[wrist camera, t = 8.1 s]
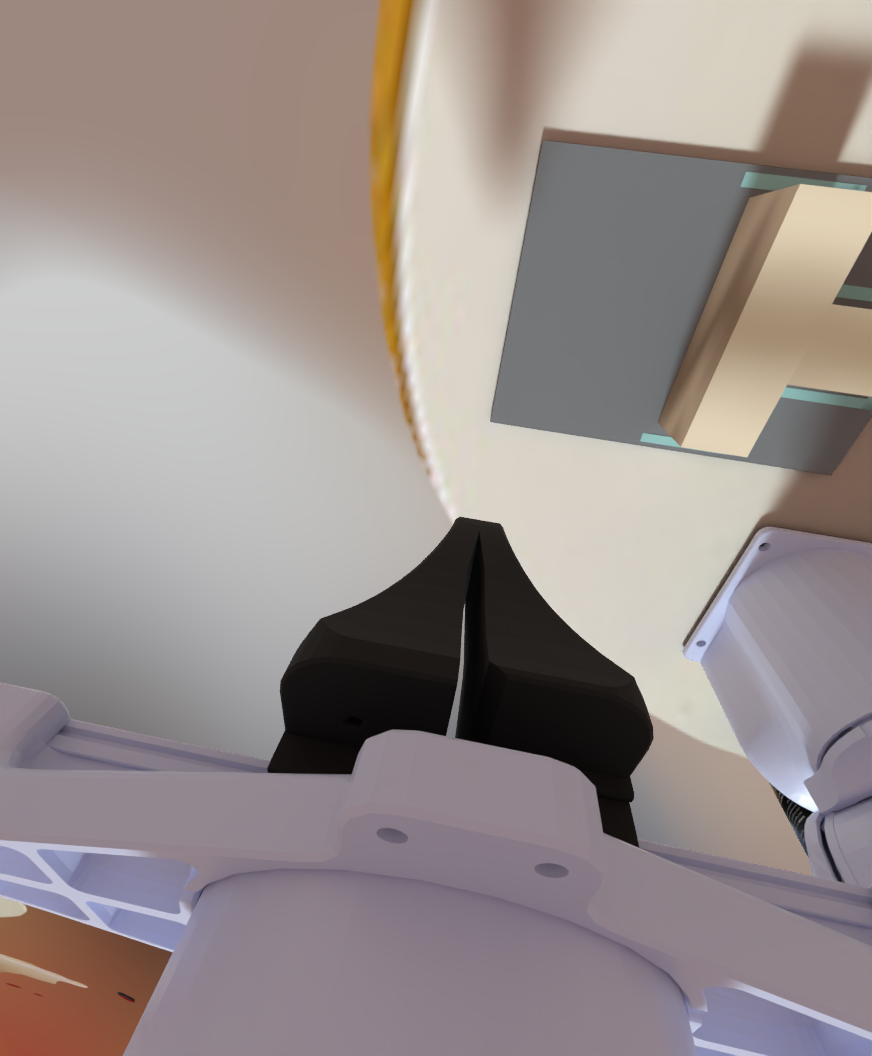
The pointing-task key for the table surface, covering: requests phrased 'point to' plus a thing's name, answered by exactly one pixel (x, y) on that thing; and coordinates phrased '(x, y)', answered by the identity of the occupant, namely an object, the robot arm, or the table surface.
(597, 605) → the table surface
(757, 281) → the t block
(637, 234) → the mat
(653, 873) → the robot arm
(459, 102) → the table surface
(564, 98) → the table surface
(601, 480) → the table surface
